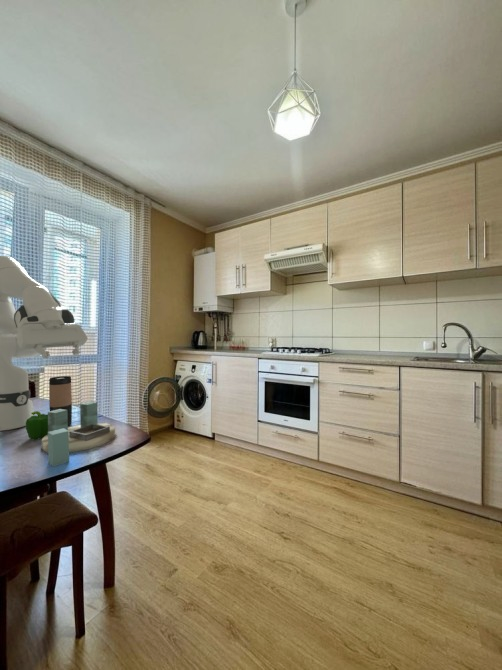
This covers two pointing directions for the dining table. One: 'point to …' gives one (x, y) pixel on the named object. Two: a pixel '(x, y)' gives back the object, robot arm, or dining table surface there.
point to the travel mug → (61, 395)
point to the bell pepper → (37, 426)
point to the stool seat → (80, 428)
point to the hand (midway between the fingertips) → (62, 355)
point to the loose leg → (58, 447)
